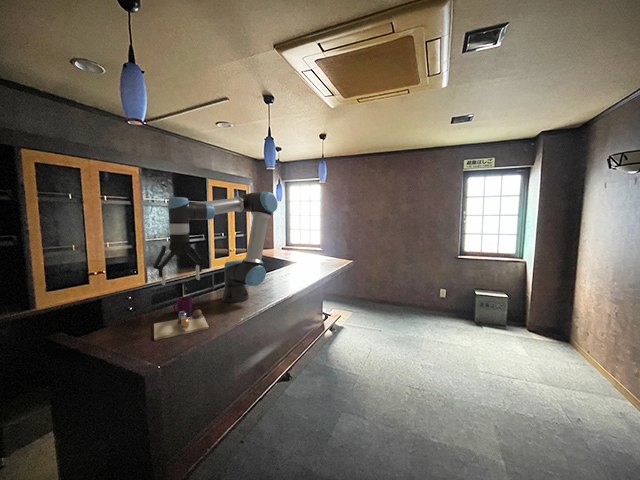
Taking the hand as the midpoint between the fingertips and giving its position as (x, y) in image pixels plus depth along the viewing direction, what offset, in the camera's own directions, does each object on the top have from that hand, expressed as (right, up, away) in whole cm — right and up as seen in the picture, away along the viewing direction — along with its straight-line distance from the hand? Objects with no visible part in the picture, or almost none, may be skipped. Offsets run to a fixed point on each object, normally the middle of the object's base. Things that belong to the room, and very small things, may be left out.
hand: (181, 281), depth 111 cm
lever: (0, -19, +1) cm, 19 cm away
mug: (-10, -19, +18) cm, 28 cm away
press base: (-1, -20, +1) cm, 20 cm away
